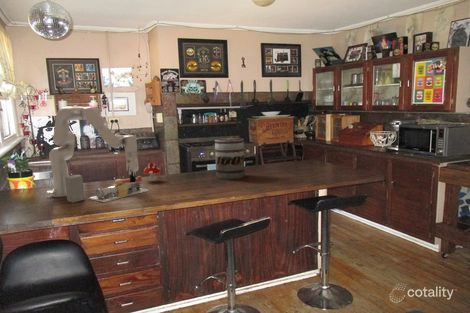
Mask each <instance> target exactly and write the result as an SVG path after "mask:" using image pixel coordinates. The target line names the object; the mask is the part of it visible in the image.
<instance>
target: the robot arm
mask: <svg viewBox="0 0 470 313" xmlns="http://www.w3.org/2000/svg"><path fill="white" fill-rule="evenodd" d="M76 120H78V121H79V120H85V121H86V122H88V124H90V125H91V126H92V128H94V129H95V130H96V131H97V133H98V134H99V137H101V139H102V141H104V142H105V143H106V144H107V145H109V146H110V147H111V148H114V149H116V148H121V147H124V155H125V156H124V157H125V162H126V163H125V165H126V172H127V173H128V175H129V179H130V182H136V178H137V177H136V173H137V171H139V168H140V167H139V159H138V145H137V144H138V143H137V137H136V135H134V134H128V135H124V134H118V135H115V133H114V132H113V131H111V130H110V128H109V122H108V121H107V120H106V119H105V118H104V116H102V112H101V110H100V109H99V108H98V107H95V106H65V107H62V108H60V109H58V111H57V112H56V114H55V121H54V122H55V123H54V128H53V129H54V130H53V138H52V141H53V144H54V145H56V146H58V147H54V148H53V149H51V150H50V151H49V153H48V158H49V162H50V165H51V173H52V183H53V188H52V190H47V191H46V192H45V193H46V195H51V196H52V197H55V198H59V197H67V191H66V182H65V177H67V176H70V175H69V168H68V167H69V166H68V163H67V162H66V161H68V160H70V159H72V157H73V155H74V151H75V143H76V135H75V134H74V132H72V131H71V130H70V121H76Z"/></svg>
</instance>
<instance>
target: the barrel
mask: <svg viewBox="0 0 470 313" xmlns="http://www.w3.org/2000/svg"><path fill="white" fill-rule="evenodd" d="M214 152H215V177H216V179H217V178H218V180H221V179H222V180H223V181H234V179H236V180H241V179H240V178H242V179H244V178H245V175H246V174H245V173H246V172H245V139H244V138H242V137H224V138H222V137H221V138H216V139H214ZM243 177H244V178H243Z"/></svg>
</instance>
